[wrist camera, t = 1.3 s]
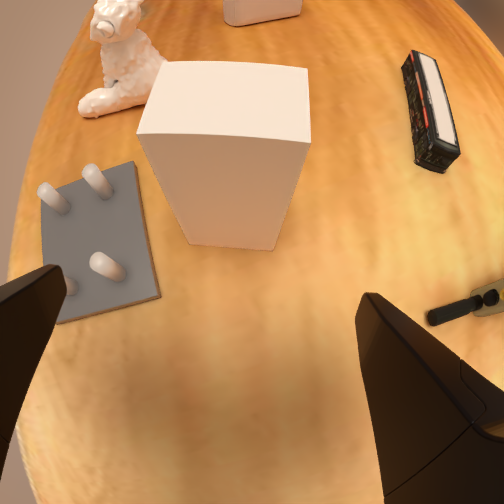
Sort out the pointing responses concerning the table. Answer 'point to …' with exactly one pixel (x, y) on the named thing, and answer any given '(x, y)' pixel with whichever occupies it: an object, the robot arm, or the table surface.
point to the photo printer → (258, 10)
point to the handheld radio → (472, 304)
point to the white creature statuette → (121, 59)
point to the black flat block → (429, 114)
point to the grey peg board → (98, 241)
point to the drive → (228, 147)
